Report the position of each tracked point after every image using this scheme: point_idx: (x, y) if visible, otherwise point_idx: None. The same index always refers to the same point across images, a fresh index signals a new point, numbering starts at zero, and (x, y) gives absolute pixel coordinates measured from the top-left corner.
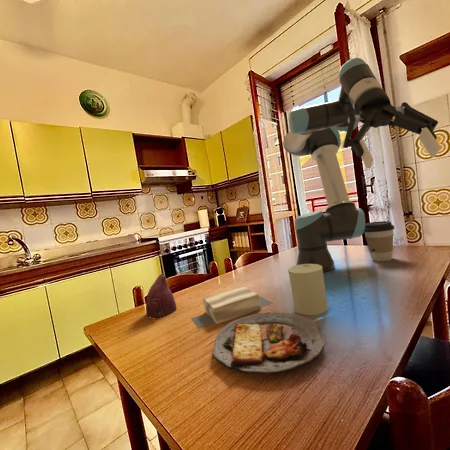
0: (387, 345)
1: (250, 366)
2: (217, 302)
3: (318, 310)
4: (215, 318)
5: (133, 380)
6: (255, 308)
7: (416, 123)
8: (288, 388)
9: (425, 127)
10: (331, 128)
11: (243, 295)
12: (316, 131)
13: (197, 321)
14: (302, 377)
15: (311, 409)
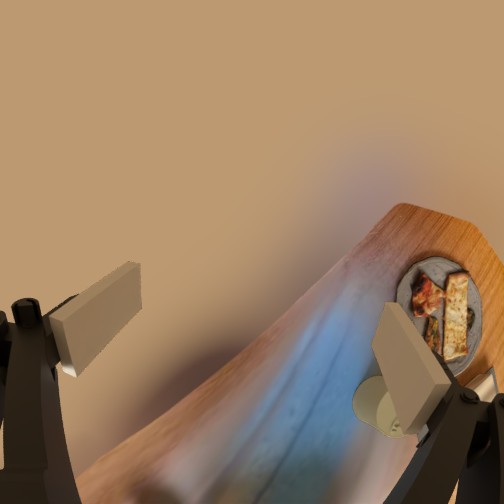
0: (336, 285)
1: (455, 270)
2: (488, 393)
3: (375, 377)
4: (483, 374)
5: None
6: None
7: (40, 360)
8: (427, 250)
9: (44, 328)
10: None
11: None
12: None
13: (494, 384)
14: (417, 260)
15: (416, 228)
